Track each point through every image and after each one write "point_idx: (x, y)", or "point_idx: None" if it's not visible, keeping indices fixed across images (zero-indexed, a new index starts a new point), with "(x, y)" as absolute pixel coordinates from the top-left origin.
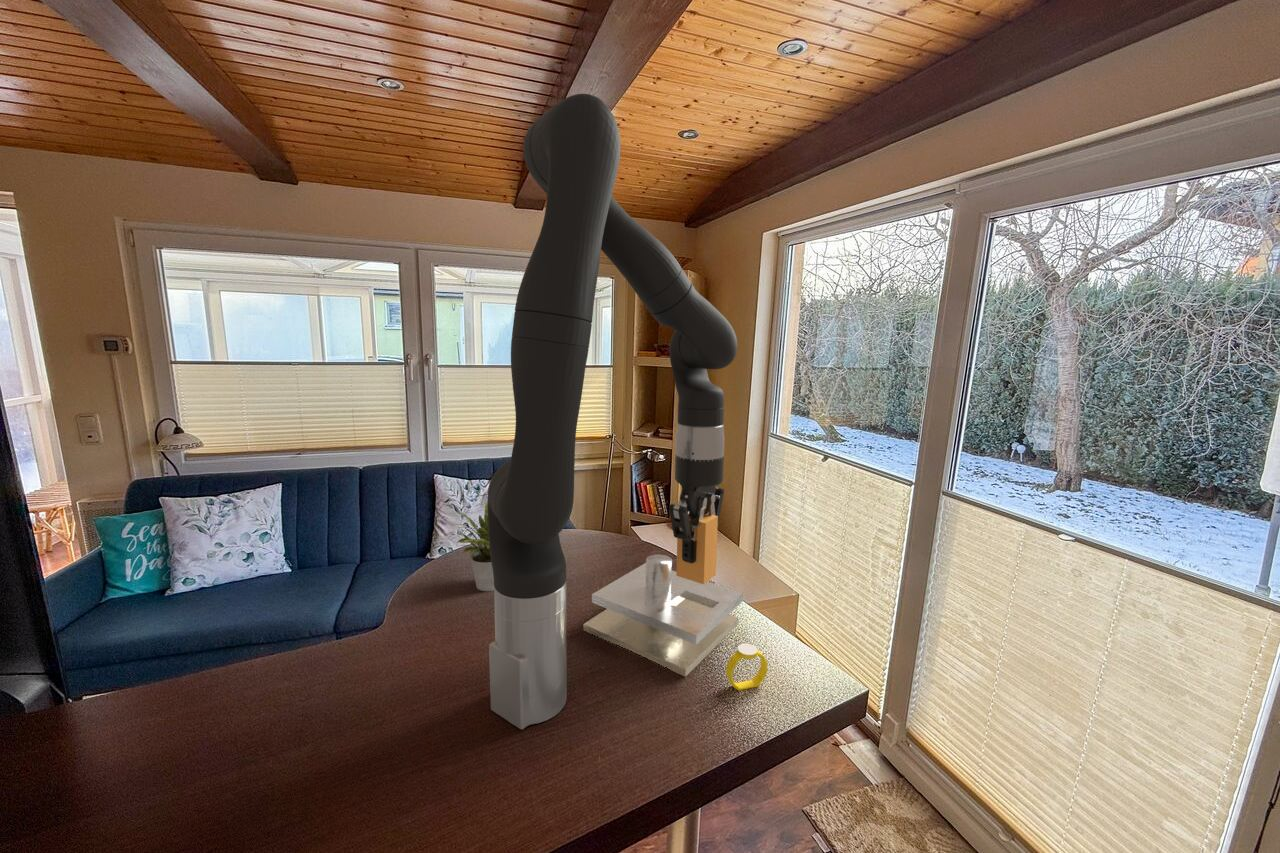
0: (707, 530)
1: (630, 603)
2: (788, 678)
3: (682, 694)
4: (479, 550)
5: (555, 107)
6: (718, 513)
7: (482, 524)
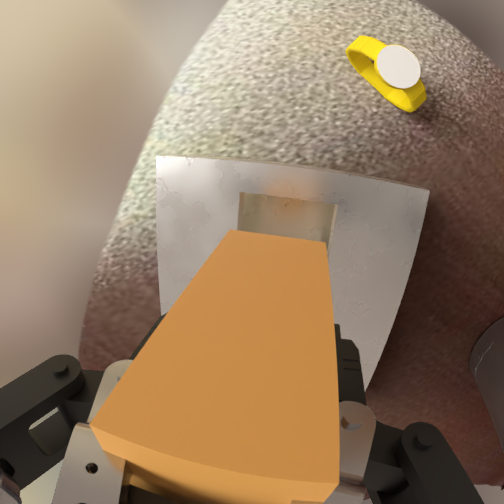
0: (303, 414)
1: None
2: (309, 19)
3: (450, 178)
4: None
5: None
6: (27, 390)
7: None
